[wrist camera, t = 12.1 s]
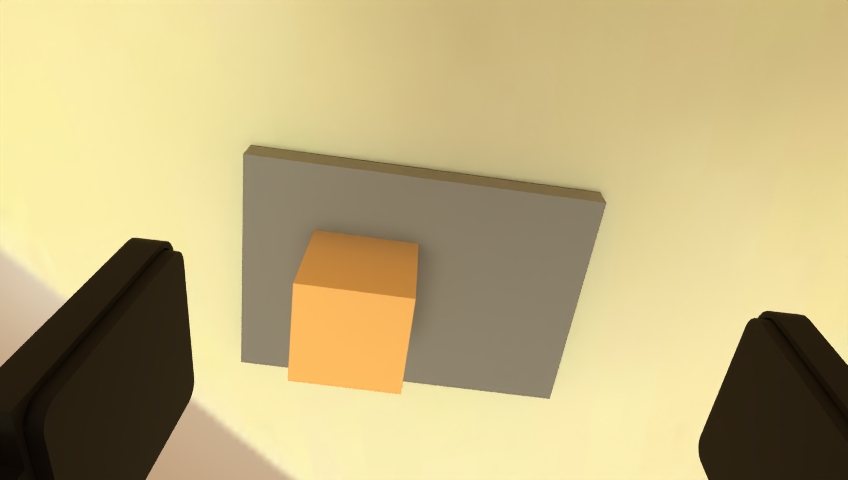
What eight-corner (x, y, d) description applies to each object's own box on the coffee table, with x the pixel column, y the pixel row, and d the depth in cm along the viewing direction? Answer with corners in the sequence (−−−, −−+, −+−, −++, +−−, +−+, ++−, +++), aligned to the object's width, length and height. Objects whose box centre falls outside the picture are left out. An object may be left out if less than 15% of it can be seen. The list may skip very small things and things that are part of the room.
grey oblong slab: (599, 192, 36) (606, 202, 35) (545, 383, 43) (549, 398, 41) (250, 145, 36) (243, 154, 34) (247, 347, 42) (241, 362, 40)
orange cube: (418, 243, 36) (415, 299, 31) (405, 329, 39) (400, 394, 34) (314, 229, 36) (293, 283, 31) (308, 317, 39) (287, 380, 33)
